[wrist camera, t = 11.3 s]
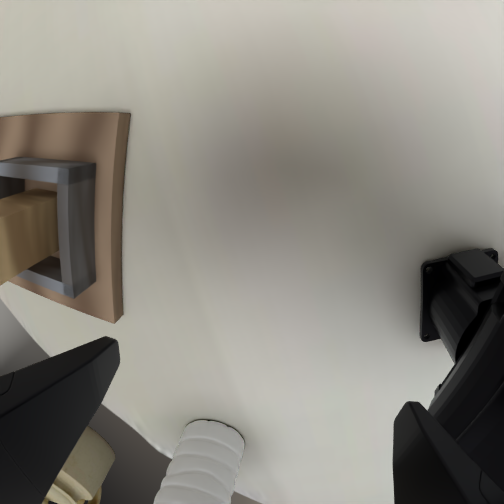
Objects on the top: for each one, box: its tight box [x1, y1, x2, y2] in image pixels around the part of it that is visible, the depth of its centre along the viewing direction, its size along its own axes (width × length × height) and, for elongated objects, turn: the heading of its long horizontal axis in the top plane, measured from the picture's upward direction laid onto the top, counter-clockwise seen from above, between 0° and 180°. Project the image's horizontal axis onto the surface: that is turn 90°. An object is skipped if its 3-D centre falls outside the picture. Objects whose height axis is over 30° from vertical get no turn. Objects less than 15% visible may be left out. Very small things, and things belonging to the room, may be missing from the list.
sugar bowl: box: [42, 425, 115, 504], centre depth 29 cm, size 15×11×15 cm
